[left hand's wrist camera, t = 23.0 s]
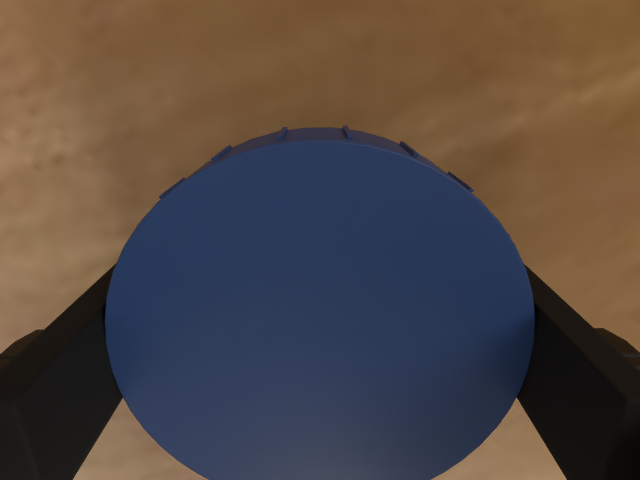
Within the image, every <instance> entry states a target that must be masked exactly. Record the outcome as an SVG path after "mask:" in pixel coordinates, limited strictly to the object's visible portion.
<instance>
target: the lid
mask: <svg viewBox="0 0 640 480" xmlns="http://www.w3.org/2000/svg"><path fill="white" fill-rule="evenodd" d="M472 192H473V189H472V188H471V187H469V186H468V185H467V184H465V183H464V182H463V181H461V180H460V179H459V178H457V177H456V176H455V175H453V174H452V173H451V172H448V173H445V172H444V171H443V170H442V169H440V168H439V167H438V166H436V165H435V164H434V163H432V162H431V161H429V160H428V159H426V158H424V157H423V156H421V155H419V154H418V153H417V152H416V151H415V150H413V149H412V148H411V147H410V146H408V145H407V144H406V143H404V142H402V141H401V142H400V144H398V143H395V142H393V141H391V140H388V139H386V138H383V137H379V136H376V135H372V134H368V133H364V132H361V131H355V130H349V128H348V126H343V129H339V128H300V129H293V130H287V127H283V128H282V130H281V131H279V132H275V133H271V134H268V135H264V136H261V137H257V138H254V139H251V140H249V141H247V142H244V143H242V144H240V145H237V146H235V147H233V148H232V147H231V145H229V146H227V147H226V148H224V149H223V150H222V151H221V152H219V153H218V154H217V155H215V156H214V157H213V158H211V161H209V162H207V163H206V164H205V165H203V166H202V167H201V168H199V169H198V170H197V171H196V172H194V173H193V174H192V175H190V176H189V177H188V178H187V179H185V178H183V179H181V180H180V181H179V182H177V183H176V184H175V185H173V186H172V187H171V188H169V189H168V190H167V191H165V192H164V193H163V194H162V195H161V196H160V197H159V198H160V199H161V200H160V201H159V202H157V204H156V205H155V206H154V207H153V208H152V209H151V210H150V212H149V213H148V214H147V215H146V216H145V217H144V218H143V219H142V221H141V222H140V223H139V224H138V226H137V227H136V229H135V230H134V232H133V233H132V235H131V236H130V238H129V240H128V241H127V243H126V244H125V246H124V248H123V250H122V252H121V254H120V257H119V259H118V261H117V264H116V266H115V268H114V270H113V274H112V278H111V282H110V285H109V289H108V293H107V299H106V310H105V321H104V322H105V337H106V346H107V351H108V356H109V360H110V365H111V369H112V372H113V375H114V377H115V380H116V383H117V385H118V388H119V390H120V392H121V394H122V396H123V398H124V399H125V401H126V403H127V405H128V407H129V409H130V410H131V412H132V413H133V415H134V416H135V417H136V419H137V420H138V421H139V423H140V424H141V425H142V427H143V428H144V429H145V430H146V432H147V433H148V434H149V435H150V436H151V437H152V438H153V439H154V440H155V441H156V442H157V443H158V444H159V445H160V446H161V447H162V448H163V449H164V450H166V451H167V452H168V453H169V454H170V455H172V456H173V457H174V458H175V459H176V460H178V461H179V462H181V463H182V464H184V465H185V466H187V467H188V468H190V469H191V470H193V471H194V472H196V473H197V474H199V475H201V476H203V477H205V478H207V479H209V480H431V479H433V478H434V477H436V476H438V475H440V474H442V473H444V472H445V471H447V470H448V469H450V468H451V467H453V466H454V465H456V464H457V463H459V462H460V461H462V460H463V459H464V458H466V457H467V456H468V455H469V454H470V453H471V452H473V451H474V450H475V449H476V448H477V447H479V446H480V445H481V444H482V443H483V442H484V441H485V440H486V438H487V437H488V436H489V435H490V434H491V433H492V432H493V431H494V430H495V429H496V428H497V426H498V425H499V424H500V422H501V421H502V419H503V418H504V417H505V415H506V414H507V412H508V411H509V410H510V408H511V406H512V404H513V402H514V401H515V399H516V397H517V395H518V393H519V391H520V389H521V387H522V384H523V382H524V379H525V376H526V374H527V371H528V367H529V363H530V358H531V353H532V349H533V344H534V333H535V312H534V303H533V294H532V290H531V286H530V283H529V279H528V275H527V271H526V268H525V266H524V264H523V262H522V259H521V257H520V255H519V253H518V251H517V248H516V246H515V244H514V243H513V241H512V240H511V238H510V236H509V234H508V233H507V232H506V231H505V229H504V228H503V226H502V225H501V223H500V222H499V221H498V219H497V218H496V217H495V216H494V215H493V214H492V213H491V212H490V211H489V209H488V208H487V207H486V206H485V205H484V204H483V203H482V202H481V201H480V200H479V199H478V198H477V197H475V196H474V195H473V194H472Z"/></svg>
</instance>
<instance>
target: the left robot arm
mask: <svg viewBox="0 0 640 480" xmlns="http://www.w3.org/2000/svg"><path fill="white" fill-rule="evenodd" d="M116 264H117V263H116ZM116 264H115V265H114V266H113V267H112V268H111V269H110V270H108V271H107V272H106V273H105V274H104V275H103V276H102V277H101V278H100V279H99V280H98V281H97V282H95V283H94V284H93V285H92V286H91V287H90V288H89V289H88V290H87V291H86V292H85V293H84V294H82V295H81V296H80V297H79V298H78V299H77V300H76V301H75V302H74V303H73V304H72V305H71V306H69V307H68V308H67V309H66V310H65V311H64V312H63V313H62V314H61V315H60V316H59V317H58V318H56V319H55V320H54V321H53V322H52V323H51V324H50V325H49V326H48V327H47V328H46V329H45V330H35V331H34V332H32V333H30V334H28V335H26V336H24V337H23V338H21V339H19V340H17V341H15V342H14V343H13V344H12V345H10V346H9V347H8V348H7V349H6V350H5V351H4V352H2V353H1V354H0V480H73V478H74V477H75V475H76V473H77V472H78V470H79V468H80V467H81V465H82V464H83V462H84V460H85V459H86V457H87V455H88V454H89V452H90V450H91V449H92V447H93V446H94V444H95V442H96V441H97V439H98V437H99V436H100V434H101V432H102V431H103V429H104V428H105V426H106V424H107V423H108V421H109V419H110V418H111V416H112V414H113V413H114V411H115V410H116V408H117V406H118V405H119V403H120V401H121V400H122V398H123V396H122V394H121V392H120V390H119V388H118V385H117V383H116V380H115V377H114V375H113V372H112V369H111V365H110V360H109V356H108V351H107V346H106V337H105V322H104V321H105V310H106V299H107V293H108V289H109V285H110V282H111V278H112V274H113V270H114V268H115V266H116ZM523 264H524V263H523ZM524 266H525V268H526V271H527V275H528V279H529V283H530V286H531V290H532V294H533V303H534V312H535V333H534V344H533V349H532V353H531V358H530V363H529V367H528V371H527V374H526V376H525V379H524V382H523V384H522V387H521V389H520V391H519V393H518V395H517V399H518V400H519V402H520V403H521V405H522V407H523V408H524V410H525V412H526V413H527V415H528V417H529V418H530V420H531V421H532V423H533V425H534V426H535V428H536V430H537V431H538V433H539V435H540V436H541V438H542V439H543V441H544V443H545V444H546V446H547V448H548V449H549V451H550V453H551V454H552V456H553V457H554V459H555V461H556V462H557V464H558V466H559V467H560V469H561V471H562V472H563V474H564V475H565V477H566V479H567V480H640V352H638V351H637V350H636V349H635V348H634V347H633V346H632V345H630V344H629V343H628V342H627V341H626V340H624V339H622V338H620V337H618V336H617V335H615V334H613V333H611V332H609V331H607V330H605V329H604V328H593V327H592V326H591V325H590V324H589V323H588V322H586V321H585V320H584V319H583V318H582V317H581V316H580V315H579V314H578V313H577V312H576V311H575V310H573V309H572V308H571V307H570V306H569V305H568V304H567V303H566V302H565V301H564V300H563V299H562V298H560V297H559V296H558V295H557V294H556V293H555V292H554V291H553V290H552V289H551V288H550V287H549V286H547V285H546V284H545V283H544V282H543V281H542V280H541V279H540V278H539V277H538V276H537V275H536V274H534V273H533V272H532V271H531V270H530V269H529V268H528V267H527V266H526V265H525V264H524Z"/></svg>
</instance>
